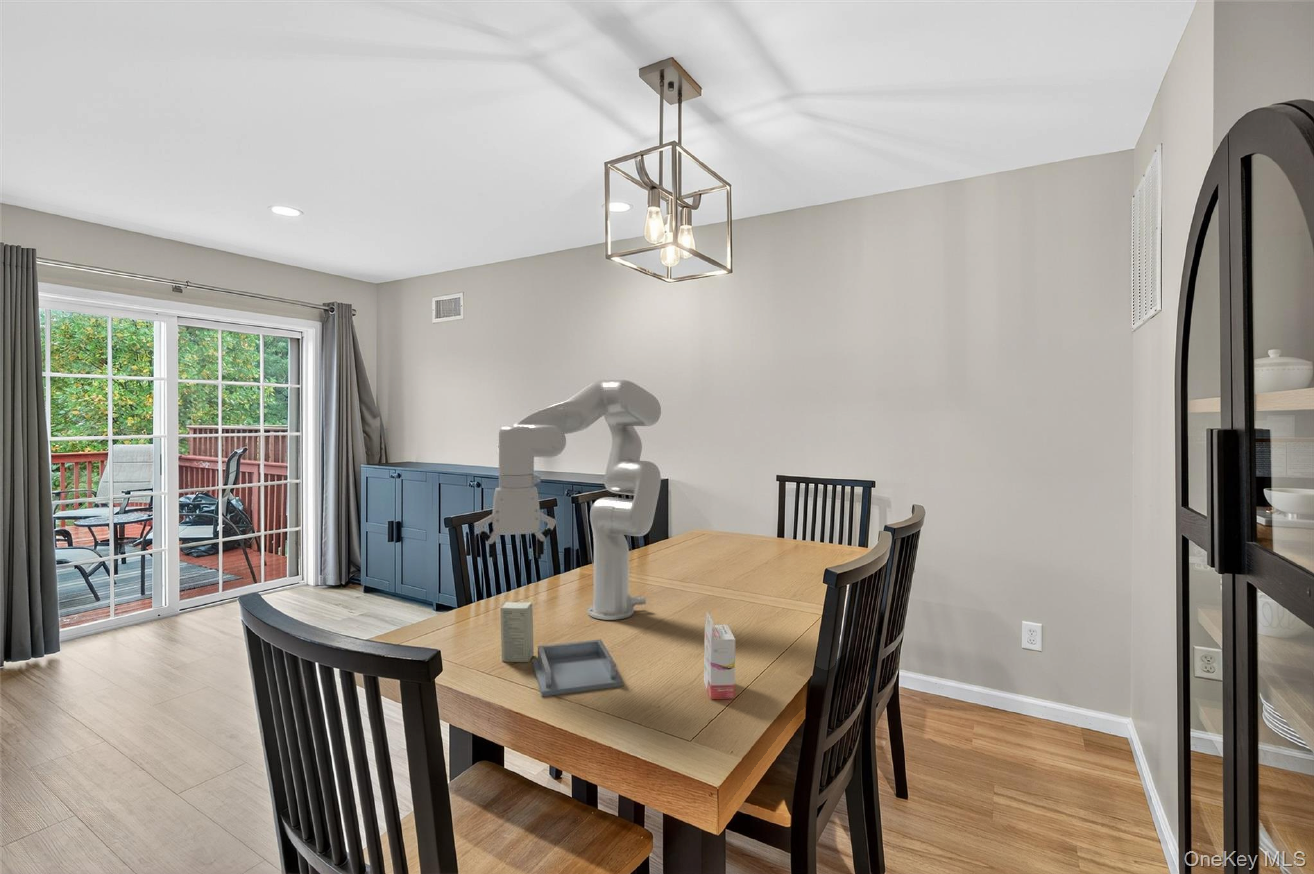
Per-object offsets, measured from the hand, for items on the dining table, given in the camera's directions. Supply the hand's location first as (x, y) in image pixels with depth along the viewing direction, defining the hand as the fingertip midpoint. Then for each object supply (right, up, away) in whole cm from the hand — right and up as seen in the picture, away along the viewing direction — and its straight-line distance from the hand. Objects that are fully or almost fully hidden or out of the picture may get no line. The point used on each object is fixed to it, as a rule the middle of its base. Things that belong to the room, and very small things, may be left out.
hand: (516, 559), depth 135 cm
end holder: (+14, -23, -7) cm, 28 cm away
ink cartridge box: (+43, -23, -14) cm, 51 cm away
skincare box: (0, -22, +1) cm, 23 cm away
